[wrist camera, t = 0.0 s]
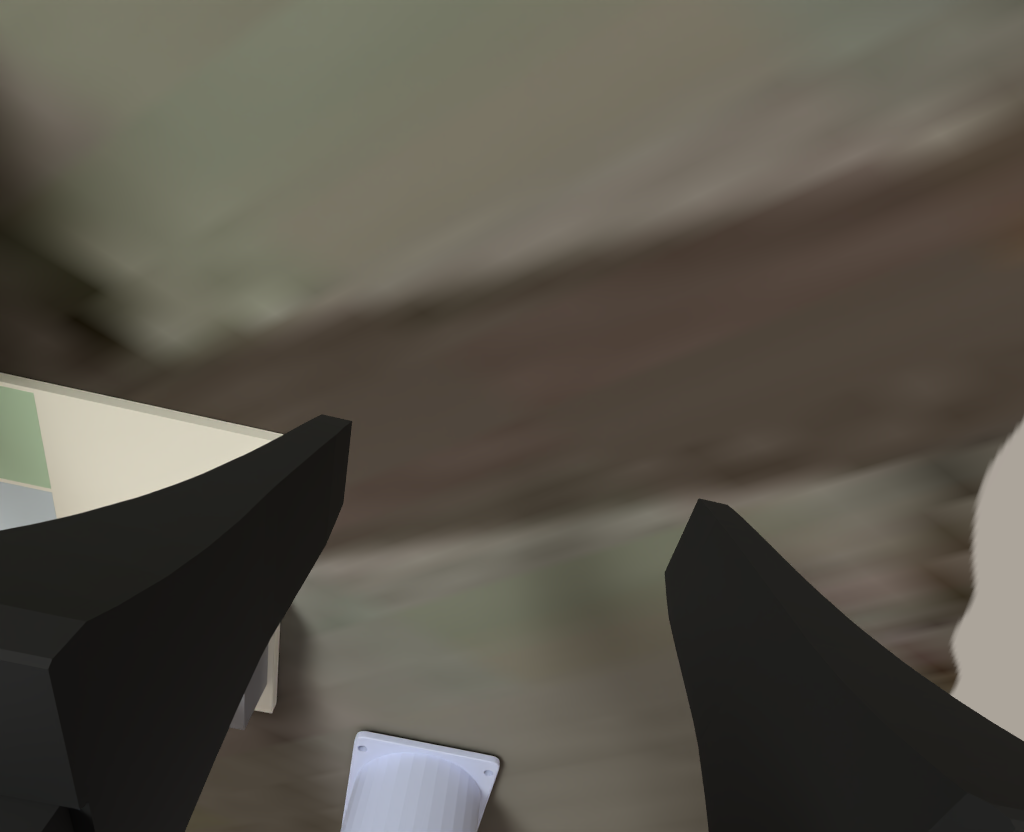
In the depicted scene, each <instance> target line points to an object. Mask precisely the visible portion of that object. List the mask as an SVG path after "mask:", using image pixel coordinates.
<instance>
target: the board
mask: <svg viewBox="0 0 1024 832" xmlns="http://www.w3.org/2000/svg"><path fill="white" fill-rule="evenodd" d="M282 435H284V434H279V433H275V432H270V431H266V430H261V429H257V428H252V427H247V426H243V425H238V424H234V423H229V422H225V421H220V420H215V419H211V418H206V417H202V416H197V415H193V414H188V413H183V412H179V411H174V410H170V409H165V408H160V407H156V406H151V405H147V404H142V403H138V402H133V401H128V400H124V399H119V398H115V397H110V396H106V395H101V394H96V393H92V392H87V391H83V390H78V389H74V388H69V387H64V386H60V385H55V384H51V383H46V382H42V381H37V380H32V379H28V378H23V377H19V376H14V375H10V374H5V373H0V530H5V529H10V528H15V527H20V526H26V525H31V524H36V523H40V522H45V521H49V520H54V519H58V518H63V517H67V516H71V515H75V514H79V513H83V512H86V511H90V510H94V509H97V508H101V507H104V506H108V505H112V504H115V503H119V502H122V501H126V500H129V499H133V498H137V497H140V496H143V495H146V494H149V493H152V492H155V491H158V490H160V489H163V488H166V487H169V486H172V485H175V484H177V483H180V482H183V481H185V480H188V479H190V478H193V477H195V476H198V475H200V474H203V473H205V472H207V471H210V470H212V469H214V468H216V467H218V466H221V465H223V464H225V463H227V462H229V461H232V460H234V459H236V458H238V457H240V456H243V455H245V454H247V453H249V452H251V451H253V450H255V449H257V448H259V447H261V446H263V445H265V444H267V443H269V442H270V441H272V440H274V439H276V438H278V437H280V436H282ZM279 639H280V624H279V625H278V627H277V629H276V630H275V632H274V634H273V636H272V637H271V639H270V641H269V643H268V672H267V685H266V687H265V689H264V691H263V693H262V695H261V697H260V699H259V701H258V703H257V705H256V707H255V709H254V710H256V711H261V712H266V713H272V712H273V710H274V708H275V706H276V703H277V682H278V661H279Z"/></svg>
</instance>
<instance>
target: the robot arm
mask: <svg viewBox="0 0 1024 832" xmlns="http://www.w3.org/2000/svg"><path fill="white" fill-rule="evenodd" d="M351 426H352V421H349V420H344V419H340V418H335V417H331V416H326V415H320V416H318V417H316V418H314V419H312V420H310V421H308V422H306V423H304V424H302V425H300V426H299V427H297V428H295V429H293V430H291V431H289V432H288V433H286V434H284V435H282V436H280V437H278V438H276V439H274V440H272V441H270V442H269V443H267V444H265V445H263V446H261V447H259V448H257V449H255V450H253V451H251V452H249V453H247V454H245V455H243V456H240V457H238V458H236V459H234V460H232V461H229V462H227V463H225V464H223V465H221V466H218V467H216V468H214V469H212V470H210V471H207V472H205V473H203V474H200V475H198V476H195V477H193V478H190V479H188V480H185V481H183V482H180V483H177V484H175V485H172V486H169V487H166V488H163V489H160V490H158V491H155V492H152V493H149V494H146V495H143V496H140V497H137V498H133V499H129V500H126V501H122V502H119V503H115V504H112V505H108V506H104V507H101V508H97V509H94V510H90V511H86V512H83V513H79V514H75V515H71V516H67V517H63V518H58V519H54V520H49V521H45V522H40V523H36V524H31V525H26V526H20V527H15V528H10V529H5V530H0V832H185V830H186V827H187V825H188V822H189V820H190V818H191V815H192V813H193V811H194V808H195V806H196V803H197V801H198V799H199V796H200V794H201V792H202V789H203V787H204V784H205V782H206V780H207V777H208V775H209V773H210V770H211V768H212V765H213V763H214V761H215V758H216V756H217V754H218V752H219V749H220V747H221V745H222V743H223V740H224V738H225V736H226V733H227V731H228V729H229V727H230V724H231V722H232V720H233V718H234V715H235V713H236V711H237V708H238V706H239V704H240V702H241V700H242V697H243V695H244V693H245V691H246V689H247V687H248V684H249V682H250V680H251V678H252V676H253V673H254V671H255V669H256V667H257V665H258V663H259V660H260V658H261V656H262V654H263V652H264V651H265V649H266V647H267V645H268V643H269V641H270V639H271V637H272V636H273V634H274V632H275V630H276V629H277V627H278V625H279V624H280V622H281V620H282V619H283V617H284V615H285V614H286V612H287V610H288V608H289V607H290V605H291V603H292V602H293V600H294V598H295V597H296V595H297V593H298V591H299V590H300V588H301V586H302V585H303V583H304V581H305V580H306V578H307V576H308V575H309V573H310V571H311V569H312V568H313V566H314V564H315V562H316V561H317V559H318V557H319V556H320V554H321V552H322V550H323V549H324V547H325V545H326V543H327V541H328V538H329V536H330V534H331V531H332V529H333V527H334V524H335V522H336V520H337V517H338V515H339V512H340V510H341V507H342V505H343V501H344V492H345V482H346V473H347V464H348V454H349V445H350V436H351ZM665 582H666V596H667V605H668V614H669V620H670V625H671V629H672V634H673V638H674V642H675V647H676V651H677V655H678V659H679V663H680V668H681V672H682V676H683V680H684V684H685V688H686V692H687V696H688V701H689V705H690V709H691V713H692V717H693V721H694V726H695V732H696V737H697V742H698V747H699V755H700V762H701V770H702V777H703V785H704V792H705V800H706V810H707V819H708V828H709V832H1024V741H1022V740H1021V739H1019V738H1017V737H1016V736H1014V735H1012V734H1011V733H1009V732H1008V731H1006V730H1004V729H1002V728H1001V727H999V726H998V725H996V724H994V723H993V722H991V721H989V720H988V719H986V718H985V717H983V716H982V715H980V714H979V713H977V712H975V711H974V710H972V709H971V708H969V707H967V706H966V705H964V704H963V703H961V702H960V701H958V700H957V699H955V698H954V697H952V696H951V695H950V694H948V693H947V692H945V691H944V690H942V689H941V688H940V687H938V686H937V685H935V684H934V683H932V682H931V681H929V680H928V679H926V678H925V677H924V676H922V675H921V674H919V673H918V672H916V671H915V670H914V669H912V668H911V667H910V666H908V665H907V664H905V663H904V662H903V661H901V660H900V659H899V658H897V657H896V656H895V655H894V654H892V653H891V652H890V651H888V650H887V649H886V648H885V647H883V646H882V645H881V644H879V643H878V642H877V641H876V640H874V639H873V638H872V637H871V636H869V635H868V634H867V633H865V632H864V631H863V630H862V629H861V628H859V627H858V626H857V625H856V624H855V623H853V622H852V621H851V620H850V619H849V618H847V617H846V616H845V615H844V614H843V613H842V612H841V611H839V610H838V609H837V608H836V607H835V606H834V605H833V604H832V603H831V602H829V601H828V600H827V599H826V598H825V597H824V596H823V595H822V594H820V593H819V592H818V591H817V590H816V589H815V588H814V587H813V586H812V585H811V584H810V583H809V582H808V581H806V580H805V579H804V578H803V577H802V576H801V575H800V574H799V573H798V572H797V571H796V570H795V569H794V568H793V567H792V566H791V565H790V564H789V563H788V562H787V561H786V560H785V559H784V558H783V557H782V556H781V555H780V554H779V553H778V552H777V551H776V550H775V549H774V548H773V547H772V546H771V545H770V544H769V543H768V542H767V541H766V540H765V539H764V538H763V537H762V536H761V535H760V534H759V533H758V532H757V531H756V530H755V529H753V528H752V527H751V526H750V525H749V524H748V523H747V522H746V521H745V520H744V519H743V518H742V517H741V516H740V515H739V514H738V513H736V512H735V511H734V510H733V509H732V508H731V507H729V506H728V505H726V504H721V503H717V502H712V501H708V500H703V499H698V501H697V503H696V506H695V508H694V510H693V512H692V514H691V516H690V519H689V521H688V523H687V525H686V527H685V529H684V532H683V534H682V536H681V538H680V540H679V543H678V545H677V547H676V549H675V551H674V553H673V556H672V558H671V560H670V562H669V564H668V566H667V569H666V571H665ZM499 765H500V761H499V759H498V758H497V757H495V756H491V755H486V754H481V753H476V752H471V751H466V750H461V749H456V748H450V747H445V746H440V745H435V744H430V743H425V742H420V741H415V740H409V739H404V738H399V737H394V736H389V735H384V734H379V733H374V732H369V731H360V732H358V733H357V735H356V738H355V741H354V748H353V754H352V761H351V768H350V774H349V781H348V787H347V794H346V801H345V807H344V814H343V821H342V828H341V831H340V832H477V830H478V827H479V824H480V822H481V819H482V816H483V813H484V810H485V807H486V805H487V802H488V799H489V796H490V793H491V790H492V788H493V785H494V782H495V779H496V776H497V774H498V771H499Z"/></svg>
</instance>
